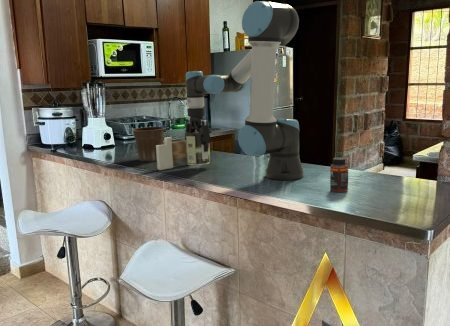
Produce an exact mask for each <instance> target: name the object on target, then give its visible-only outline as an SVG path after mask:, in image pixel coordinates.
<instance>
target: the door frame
mask: <svg viewBox="0 0 450 326" xmlns="http://www.w3.org/2000/svg"><path fill="white" fill-rule="evenodd" d="M172 142H173V141H172V137H170V136H167V137H163V145H156V154H157V161H156V167H157V170H158V171H162V170H163V171H164V170H168V169H173V168H174V166H173V157H172ZM210 146H211V145H210V144H209V158H210V159H211V150H210Z"/></svg>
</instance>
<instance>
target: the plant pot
mask: <svg viewBox="0 0 450 326" xmlns="http://www.w3.org/2000/svg"><path fill="white" fill-rule="evenodd" d="M131 131H132V132H133V136H134V137H133V138H134V139H135V144H136V149H137V154H138V161H139V162H148V163H149V162H157V154H156V145H163V144H164V136H165V127H163V126H145V127H137V128H133V129H132V130H131Z"/></svg>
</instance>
